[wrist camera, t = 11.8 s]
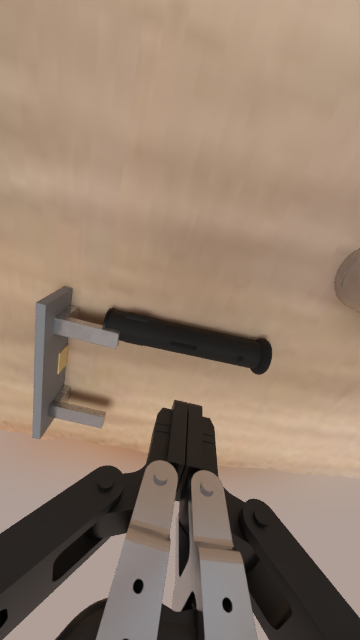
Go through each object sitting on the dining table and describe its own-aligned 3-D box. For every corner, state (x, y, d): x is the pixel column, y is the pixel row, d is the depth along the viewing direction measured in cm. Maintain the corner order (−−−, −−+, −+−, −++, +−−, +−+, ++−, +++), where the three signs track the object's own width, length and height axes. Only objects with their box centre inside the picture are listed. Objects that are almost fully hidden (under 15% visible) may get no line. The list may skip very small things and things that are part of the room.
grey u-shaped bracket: (128, 318, 39) (118, 333, 34) (111, 404, 47) (101, 428, 41) (72, 303, 39) (54, 317, 34) (64, 393, 46) (48, 416, 41)
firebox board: (75, 287, 38) (47, 305, 30) (64, 404, 47) (41, 439, 40) (66, 285, 38) (35, 302, 30) (57, 402, 47) (32, 437, 40)
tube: (267, 334, 40) (278, 351, 35) (255, 362, 42) (264, 383, 37) (114, 300, 39) (103, 313, 33) (111, 331, 41) (99, 348, 36)
